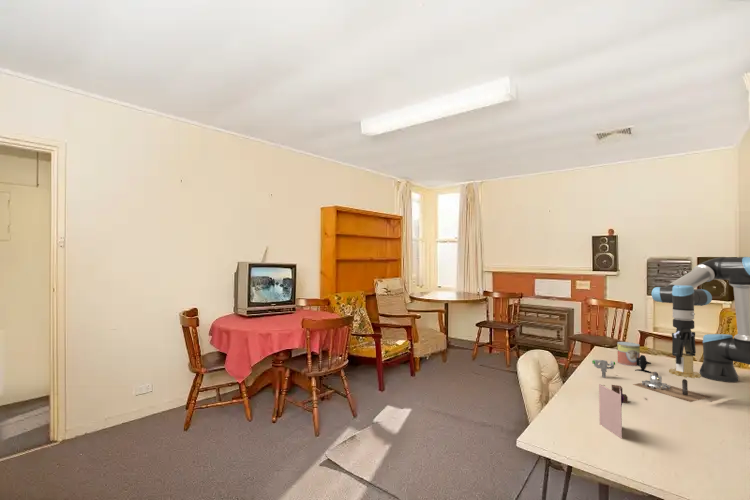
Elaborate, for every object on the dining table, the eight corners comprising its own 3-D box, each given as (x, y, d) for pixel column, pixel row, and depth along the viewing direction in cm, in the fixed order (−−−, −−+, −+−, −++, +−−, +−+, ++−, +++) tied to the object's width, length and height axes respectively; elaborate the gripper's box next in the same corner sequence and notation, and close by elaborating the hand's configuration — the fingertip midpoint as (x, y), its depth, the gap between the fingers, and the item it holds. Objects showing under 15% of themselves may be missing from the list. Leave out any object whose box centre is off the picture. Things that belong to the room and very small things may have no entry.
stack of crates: (632, 398, 166) (632, 382, 166) (640, 410, 152) (640, 393, 152) (594, 392, 172) (594, 378, 172) (598, 403, 158) (598, 388, 159)
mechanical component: (616, 381, 187) (615, 362, 187) (594, 380, 189) (594, 360, 189) (613, 379, 189) (613, 360, 190) (592, 378, 192) (591, 359, 192)
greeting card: (624, 439, 125) (624, 395, 125) (599, 434, 129) (598, 391, 129) (623, 427, 135) (622, 386, 135) (599, 422, 139) (599, 382, 139)
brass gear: (677, 369, 172) (677, 350, 172) (706, 376, 162) (705, 356, 162) (663, 372, 168) (663, 352, 168) (691, 379, 157) (691, 358, 158)
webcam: (634, 370, 207) (634, 352, 207) (651, 372, 202) (650, 354, 203) (634, 373, 200) (634, 355, 201) (651, 376, 196) (651, 357, 196)
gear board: (652, 383, 184) (652, 366, 184) (711, 400, 162) (711, 381, 162) (632, 387, 178) (632, 370, 178) (690, 405, 156) (690, 385, 156)
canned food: (623, 365, 217) (622, 345, 217) (614, 360, 228) (613, 341, 228) (644, 366, 215) (643, 346, 215) (633, 361, 226) (633, 342, 226)
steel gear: (650, 381, 183) (650, 371, 183) (675, 388, 172) (675, 377, 173) (636, 384, 178) (636, 373, 179) (661, 391, 168) (661, 380, 168)
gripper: (680, 321, 158) (681, 375, 158) (705, 319, 166) (706, 370, 165) (661, 319, 165) (662, 370, 165) (686, 317, 173) (687, 366, 172)
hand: (684, 370), depth 165 cm, fingers closed on brass gear, 6 cm apart
